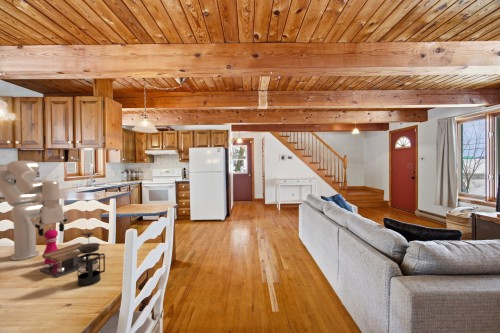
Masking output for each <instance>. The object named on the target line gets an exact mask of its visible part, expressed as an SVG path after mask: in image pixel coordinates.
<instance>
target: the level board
mask: <svg viewBox="0 0 500 333" xmlns="http://www.w3.org/2000/svg"><path fill="white" fill-rule="evenodd" d="M84 244H85V243H82V242H78V243H75V244H70V245H68V246H65V247H62V248H58V250H55V251H52V252H48V253H45V254H44V253H43V254H41V257H42V258H43V259H44V258H46V259H49V260H52V261H56V262H57V263H60V262H62V261H64V260H67V259H70V258H72V257H75V256H78V257H79V256H81V255H84V254H83V253H81V252H80V250H78V249H77V247H79V246H81V245H84Z"/></svg>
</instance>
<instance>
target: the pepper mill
mask: <svg viewBox="0 0 500 333" xmlns="http://www.w3.org/2000/svg"><path fill="white" fill-rule="evenodd" d="M58 235H59V233H58V231H57V229H54V227H53V226H50V227H49V228H48V230H46V231H45V232H44V236H43V237H44V239H45V243H46V247H45V249H44V251H43V254H45V253H48V252H52V251H55V250H58V249H59V248H58V247H57V241H58V238H57V237H58ZM43 259H44V261H43V264H44V265H46V264H48V263H53V265H54V264H57V263H58V262H56V261H52V260H49V259H46V258H43Z"/></svg>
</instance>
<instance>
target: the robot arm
mask: <svg viewBox="0 0 500 333" xmlns="http://www.w3.org/2000/svg"><path fill="white" fill-rule="evenodd" d="M39 170H40V165H39V164H38V163H37V162H36V161H34V160H12V161H10V162H9V163H7V165H6V166H0V193H1V194H2V196H3V198H4V200H5V201H6V203H7V204H8V205H9V206H10V207H12V208H11V212H10V213H11V218H12V223H13V242H14V243H13V244H14V245H13V247H14V248H13V249H14V252H13V253H14V254H12V255H11V257H10V260H11V261H24V260H28V259H32V258H35V257H37V256H39V255H40V251H39V250H37V240H36V238H37V235H36V234H38V236H39V237H44V234H45V232H44V231H45V230H44V227H45V226H46V225H51V224H52V225H53V224H58V223H59V224H58V229H59V232H64V231H65V224H66V222H67V221H68V219H69V217H70V216H69V215H68V214H64V210H63V206H62V204H61V203H60V183H59V181H57V180H46V179H45V180H35V179H36V178H37V173H39ZM13 180H14V181H15V182H14V181H13ZM33 219H34V220H33ZM32 220H33V221H32ZM38 222H39V224H38ZM36 229H37V231H36ZM36 232H37V233H36Z"/></svg>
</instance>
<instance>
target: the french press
mask: <svg viewBox="0 0 500 333" xmlns="http://www.w3.org/2000/svg"><path fill="white" fill-rule="evenodd" d="M94 234H95V233H94V232H93V231H92V232H85V233H83V235H82V236H87V242H88V243H83V244H84V245H81V246H79V247H77V249H78V250H80V252H81V253H83V254H81V255H78V258H77V272H78V274H77V281H76V285H77V286H78V287H89V286H92V285H95V284H98V283H99V282H100V281H101V274H102V273H105V272H106V263H105V261H106V258H105V257H106V254H105V253H104V252H103V253H99V252H97V251H99V250H100V246H101V243H99V242H91V243H90V237H91V236H93V235H94ZM92 256H96V257H92ZM101 256H103V258H102V259H103V264H102V266H103V270H101ZM84 257H85V259H86V260H79V259H81V258H84ZM91 257H92V258H91ZM95 260H98V263H96V264H93V261H95ZM78 262H79V263H86V266H84V267H81V268H80V269H79V270H78ZM79 273H80V274H79Z"/></svg>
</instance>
